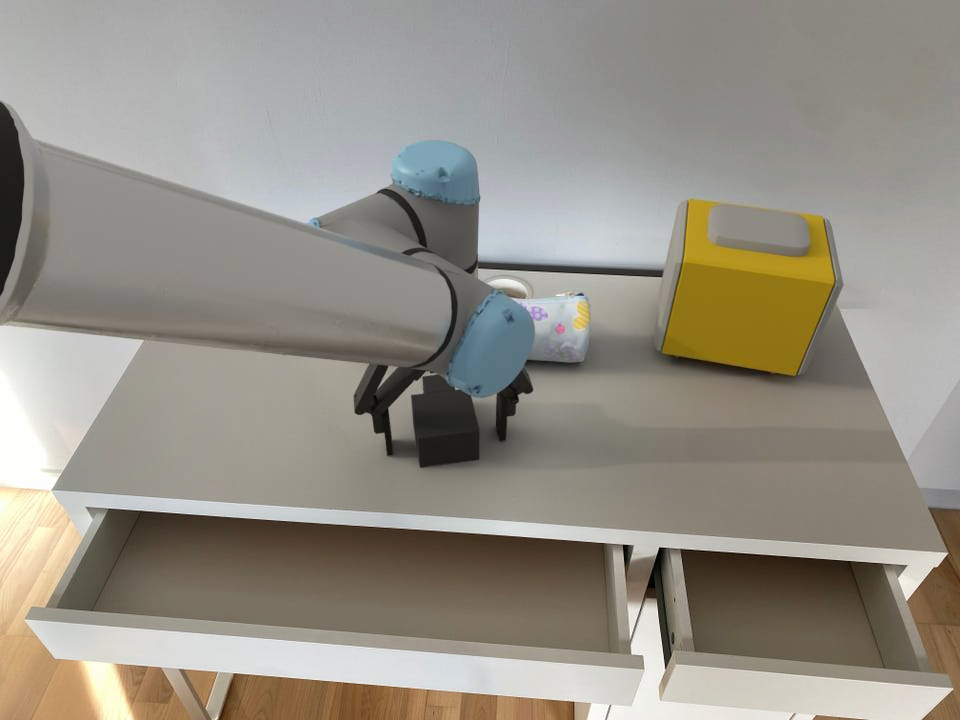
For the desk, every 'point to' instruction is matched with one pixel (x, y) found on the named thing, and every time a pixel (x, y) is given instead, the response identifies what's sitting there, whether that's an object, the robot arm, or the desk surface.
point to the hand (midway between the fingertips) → (445, 440)
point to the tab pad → (444, 424)
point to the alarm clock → (747, 286)
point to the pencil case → (559, 327)
